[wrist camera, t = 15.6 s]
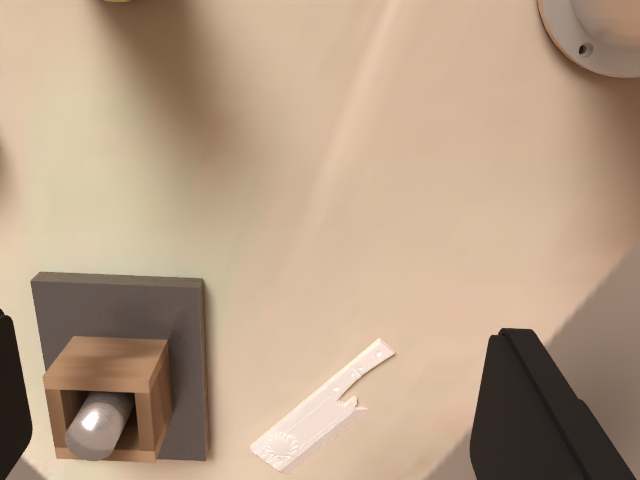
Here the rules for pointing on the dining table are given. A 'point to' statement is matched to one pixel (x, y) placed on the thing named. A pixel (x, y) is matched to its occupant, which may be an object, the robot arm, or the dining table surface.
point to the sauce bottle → (117, 0)
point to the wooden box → (113, 376)
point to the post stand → (138, 323)
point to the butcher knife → (318, 415)
